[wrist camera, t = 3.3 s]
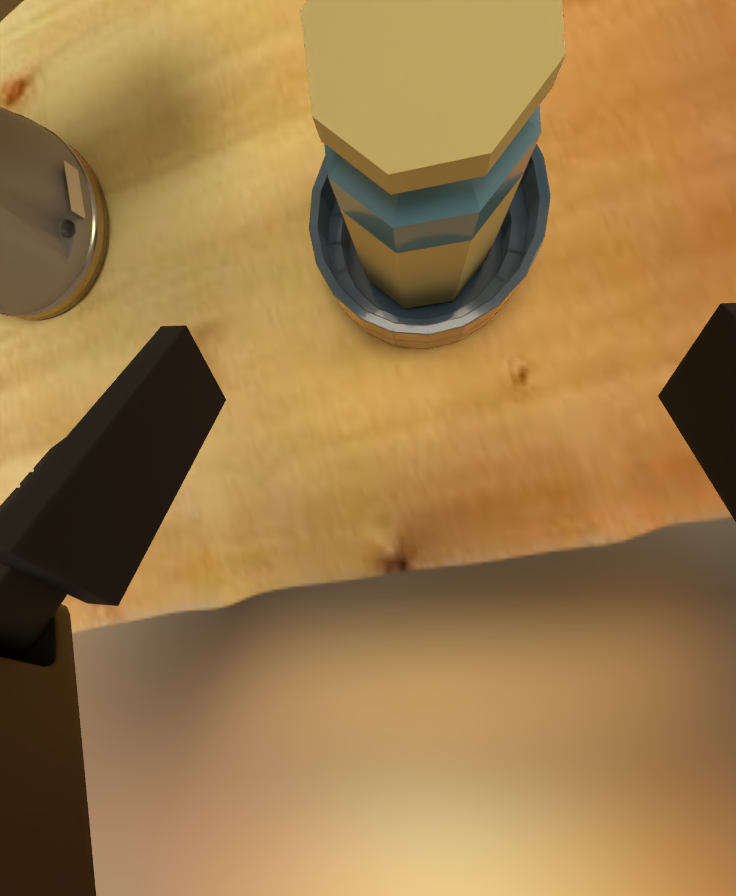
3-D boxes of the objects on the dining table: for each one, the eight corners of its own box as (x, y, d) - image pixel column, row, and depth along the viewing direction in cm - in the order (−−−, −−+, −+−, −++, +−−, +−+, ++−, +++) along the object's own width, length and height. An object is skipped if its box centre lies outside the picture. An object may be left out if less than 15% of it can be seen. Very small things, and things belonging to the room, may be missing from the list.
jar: (506, 196, 25) (629, -118, 10) (465, 327, 26) (523, 212, 11) (381, 169, 26) (330, -152, 11) (346, 296, 27) (260, 154, 12)
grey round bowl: (296, 223, 28) (269, 181, 23) (462, 104, 25) (472, 28, 20) (387, 383, 28) (380, 377, 23) (561, 280, 25) (595, 247, 20)
